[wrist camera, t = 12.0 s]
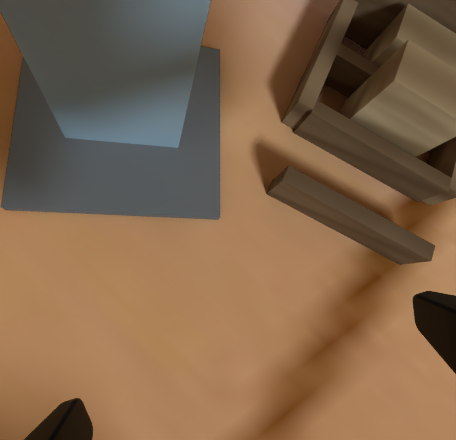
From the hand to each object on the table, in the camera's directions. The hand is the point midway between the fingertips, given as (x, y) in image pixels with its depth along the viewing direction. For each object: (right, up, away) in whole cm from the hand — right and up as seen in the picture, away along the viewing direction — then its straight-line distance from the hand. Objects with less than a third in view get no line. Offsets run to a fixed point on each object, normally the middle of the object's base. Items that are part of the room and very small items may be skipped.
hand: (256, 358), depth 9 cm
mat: (-7, +9, +11) cm, 16 cm away
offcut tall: (+9, +10, +15) cm, 20 cm away
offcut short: (+11, +14, +16) cm, 24 cm away
